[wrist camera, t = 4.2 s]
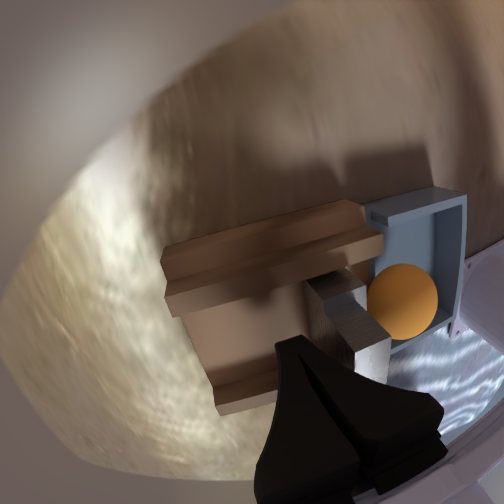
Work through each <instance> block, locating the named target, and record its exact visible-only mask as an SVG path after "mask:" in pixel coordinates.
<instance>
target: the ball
mask: <svg viewBox="0 0 504 504" xmlns="http://www.w3.org/2000/svg"><path fill="white" fill-rule="evenodd" d="M437 304H438V295H437V290H436V287H435V284H434V282H433V280H432V279H431V277H430V276H429V275H428V274H427V273H426V272H425V271H424V270H423V269H421V268H420V267H418V266H415V265H412V264H406V263H400V264H395V265H391V266H389V267H387V268H385V269H384V270H382V271H381V272H380V273H379V274H378V275H377V276H376V277H375V278H374V280H373V281H372V283H371V285H370V287H369V289H368V292H367V312H368V313H369V314H370V315H371V316H372V317H373V318H374V319H375V320H376V321H377V322H378V323H379V324H380V325H381V326H382V327H383V328H384V329H385V330H386V331H387V332H388V333H389V334H390V335H391V336H392V339H396V340H404V339H409V338H412V337H415V336H417V335H419V334H420V333H421V332H423V331H424V330H425V329H426V328H427V327H428V326H429V325H430V323H431V322H432V320H433V318H434V316H435V313H436V310H437Z"/></svg>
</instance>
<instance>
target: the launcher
mask: <svg viewBox="0 0 504 504" xmlns="http://www.w3.org/2000/svg"><path fill="white" fill-rule="evenodd" d="M382 254H384V242H383V233H381V232H379V231H377V230H375V229H373V228H371V227H368V226H366V220H365V210H364V206H363V205H360V204H357V203H354V202H352V201H349V200H346V199H343V200H339V201H335V202H331V203H327V204H323V205H319V206H315V207H311V208H307V209H303V210H299V211H296V212H292V213H288V214H284V215H280V216H276V217H272V218H269V219H265V220H261V221H257V222H254V223H250V224H246V225H243V226H239V227H235V228H232V229H228V230H224V231H221V232H217V233H214V234H210V235H206V236H203V237H199V238H196V239H192V240H189V241H185V242H182V243H178V244H175V245H172V246H168V247H165V248H164V251H163V254H162V257H161V260H160V263H161V266H162V269H163V271H164V274H165V277H166V280H167V286H166V291H165V296H164V298H165V300H166V303H167V305H168V308H169V310H170V313H171V315H172V317H177V316H181V318H182V320H183V323H184V325H185V327H186V330H187V332H188V334H189V337H190V339H191V341H192V344H193V346H194V348H195V351H196V353H197V355H198V357H199V359H200V362H201V364H202V366H203V368H204V370H205V372H206V375H207V377H208V379H209V381H210V383H211V385H212V387H213V395H214V403H215V407H216V409H217V411H218V413H219V415H220V416H224V415H228V414H233V413H237V412H241V411H245V410H248V409H252V408H256V407H259V406H263V405H266V404H270V403H273V402H276V401H277V393H278V378H279V374H278V359H277V355H276V351H275V347H274V345H275V343H276V342H279V341H283V340H286V339H289V338H292V337H295V336H298V335H301V334H302V335H304V336H305V337H306V338H307V339H308V340H309V341H310V342H312V340H311V333H310V326H309V319H308V312H307V306H306V299H305V293H304V287H303V280H306V279H310V278H313V277H316V276H319V275H322V274H325V273H328V272H331V271H334V270H337V269H340V268H344V267H345V268H346V269H347V270H348V271H350V272H351V273H352V274H353V275H355V276H356V277H357V278H358V279H359V280H361V281H362V282H363V283H364V284H365V285H366V296H367V292H368V289H369V287H370V278H369V259H370V258H373V257H376V256H379V255H382Z"/></svg>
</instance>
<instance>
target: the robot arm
mask: <svg viewBox="0 0 504 504" xmlns="http://www.w3.org/2000/svg"><path fill="white" fill-rule="evenodd" d="M468 328H470V329H471V330H473V331H474V332H475V333H476V334H478V335H479V336H480V337H481V338H483V339H484V340H485V341H487V342H488V343H489V344H490V345H491V346H493V347H494V348H495V349H496V350H498V351H499V352H500V353H501V354H502V355H504V239H502V240H501V241H499V242H497V243H495V244H494V245H492V246H490V247H488V248H487V249H485V250H483V251H481V252H479V253H477V254H475V255H474V256H472V257H470V258H468V259H466V260H464V269H463V278H462V285H461V292H460V298H459V304H458V310H457V315H456V319H455V320H453V321H452V322H451V326H450V331H449V338H450V339H454V338H455V337H457V336H458V335H460V334H461V333H463V332H464V331H465V330H467V329H468ZM274 347H275V351H276V355H277V359H278V374H279V378H278V393H277V401H276V407H275V412H274V416H273V421H272V425H271V428H270V431H269V434H268V437H267V440H266V443H265V446H264V449H263V451H262V453H261V455H260V458H259V460H258V462H257V464H256V471H255V477H254V494H255V498H256V501H257V504H495V503H494V502H493V501H492V499H491V498H490V497H489V495H488V494H487V493H486V491H485V490H484V488H483V487H482V486H481V484H480V483H479V481H480V480H481V479H483V478H484V477H485V476H486V475H487V474H488V473H489V472H490V471H491V470H493V469H494V468H495V467H496V466H497V465H498V464H499V463H500V462H501V461H502V460H503V459H504V398H503V399H502V400H501V401H500V402H498V403H497V405H495V406H494V407H493V408H492V409H491V410H490V411H489V412H488V413H486V414H485V415H484V416H483V417H482V418H481V419H480V420H478V421H477V422H476V423H475V424H474V425H472V426H471V427H470V428H469V429H467V430H466V431H465V432H464V433H463V434H461V435H460V436H458V437H457V438H456V439H454V440H453V441H452V442H450V443H449V444H448V445H446V446H445V445H444V444H443V443H442V441H441V440H440V438H441V434H440V433H439V432H438V430H437V429H438V427H439V425H440V423H441V421H442V418H443V415H444V408H443V407H442V406H441V405H440V404H439V402H438V401H437V400H436V399H434V398H433V397H432V396H431V395H430V394H429V393H422V392H415V391H409V390H404V389H400V388H396V387H392V386H389V385H386V384H383V383H380V382H377V381H374V380H372V379H369V378H367V377H365V376H363V375H360V374H358V373H356V372H354V371H352V370H351V369H349V368H347V367H345V366H344V365H342V364H340V363H339V362H337V361H336V360H334V359H333V358H331V357H330V356H328V355H327V354H326V353H324V352H323V351H322V350H320V349H319V348H318V347H316V346H315V345H314V344H313V343H312V342H310V341H309V340H308V339H307V338H306V337H305V336H304V335H302V334H301V335H298V336H295V337H292V338H289V339H286V340H283V341H279V342H276V343H275V345H274Z"/></svg>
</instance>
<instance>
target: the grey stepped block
mask: <svg viewBox="0 0 504 504" xmlns="http://www.w3.org/2000/svg"><path fill="white" fill-rule="evenodd" d="M303 287H304V293H305V299H306V306H307V312H308V319H309V326H310V333H311V340H312V343H313V344H314V345H315V346H316V347H318V348H319V349H320V350H322V351H323V352H324V353H326V354H327V355H328V356H330V357H331V358H333V359H334V360H336V361H337V362H339V363H340V364H342V365H344V366H345V367H347V368H349V369H351V370H352V371H354V372H356V373H358V374H360V375H363V376H365V377H367V378H369V379H372V380H374V381H377V382H380V383H383V384H386V383H387V376H388V369H389V360H390V351H391V340H392V336H391V335H390V334H389V333H388V332H387V331H386V330H385V329H384V328H383V327H382V326H381V325H380V324H379V323H378V322H377V321H376V320H375V319H374V318H373V317H372V316H371V315H370V314H369V313H368V312H367V296H366V285H365V284H364V283H363V282H362V281H361V280H359V279H358V278H357V277H356V276H355V275H353V274H352V273H351V272H350V271H348V270H347V269H346V268H345V267H344V268H340V269H337V270H334V271H331V272H328V273H325V274H322V275H319V276H316V277H313V278H310V279H306V280H303Z"/></svg>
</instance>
